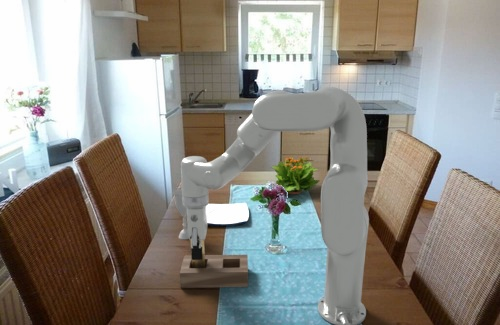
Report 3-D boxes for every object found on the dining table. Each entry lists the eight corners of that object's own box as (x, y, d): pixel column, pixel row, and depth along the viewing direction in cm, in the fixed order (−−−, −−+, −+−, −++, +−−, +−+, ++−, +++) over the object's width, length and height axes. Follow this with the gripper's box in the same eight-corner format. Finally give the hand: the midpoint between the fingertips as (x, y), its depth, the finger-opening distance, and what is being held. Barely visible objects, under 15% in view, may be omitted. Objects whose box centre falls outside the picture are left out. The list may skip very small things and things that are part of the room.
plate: (197, 229, 156) (197, 222, 155) (202, 208, 175) (201, 202, 174) (249, 228, 156) (249, 221, 156) (248, 207, 176) (248, 202, 175)
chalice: (186, 230, 154) (184, 186, 149) (198, 235, 150) (196, 190, 145) (171, 237, 148) (168, 192, 143) (184, 242, 144) (181, 196, 139)
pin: (204, 275, 120) (203, 239, 116) (191, 275, 120) (189, 239, 116) (205, 267, 124) (204, 232, 120) (192, 268, 124) (191, 233, 120)
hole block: (248, 286, 118) (247, 271, 116) (180, 287, 118) (179, 272, 116) (247, 268, 127) (247, 254, 126) (185, 269, 127) (184, 255, 126)
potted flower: (259, 186, 201) (259, 153, 196) (299, 179, 211) (300, 147, 206) (284, 203, 180) (284, 166, 175) (327, 195, 189) (329, 159, 184)
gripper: (206, 210, 107) (208, 270, 112) (210, 188, 123) (212, 241, 128) (178, 210, 107) (181, 270, 112) (186, 188, 123) (189, 242, 128)
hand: (197, 254), depth 120 cm, fingers closed on pin, 4 cm apart
